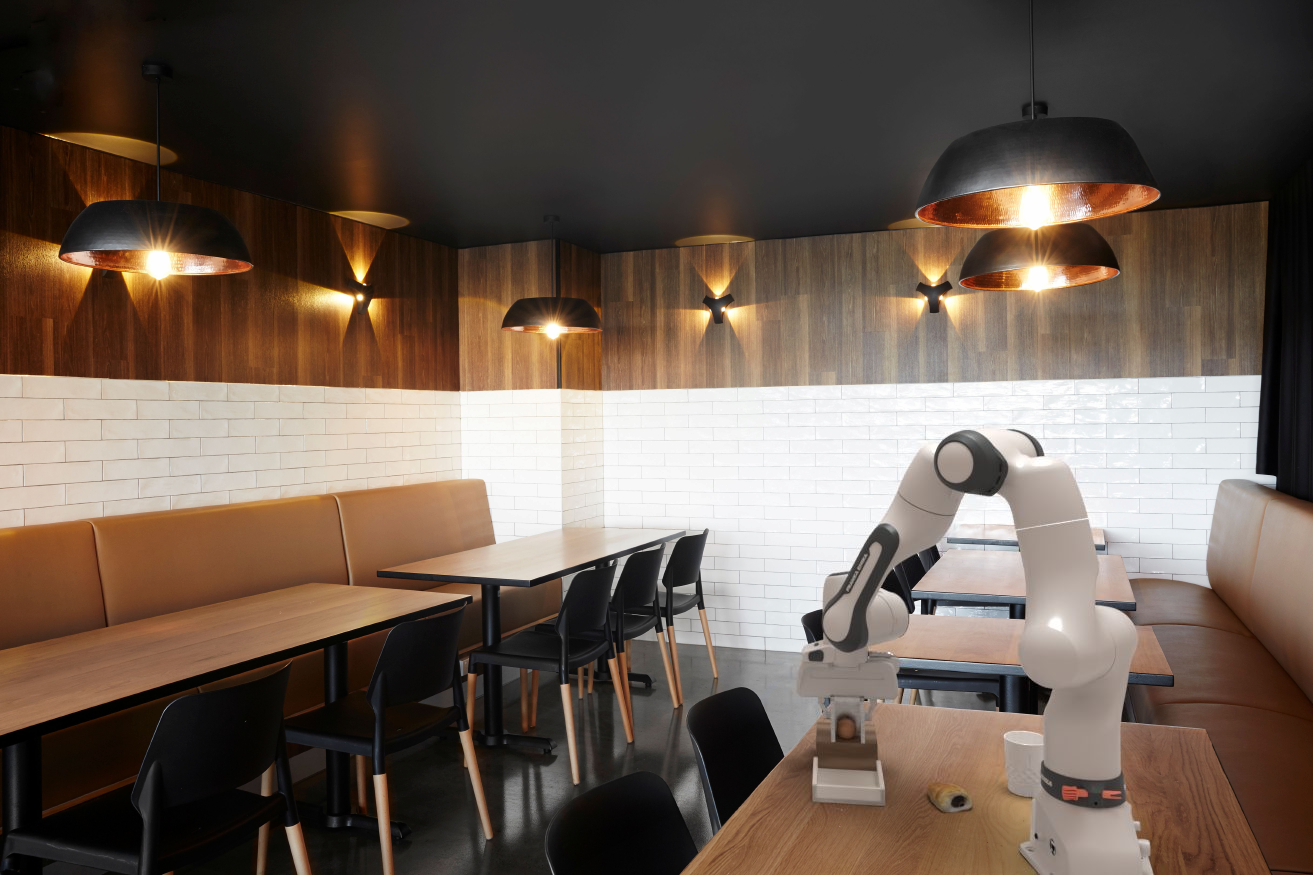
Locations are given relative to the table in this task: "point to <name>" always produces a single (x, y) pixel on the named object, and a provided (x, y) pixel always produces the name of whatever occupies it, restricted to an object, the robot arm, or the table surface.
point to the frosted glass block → (847, 713)
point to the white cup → (1023, 762)
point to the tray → (848, 785)
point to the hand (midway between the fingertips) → (847, 719)
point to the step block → (846, 749)
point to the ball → (846, 728)
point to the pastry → (949, 797)
